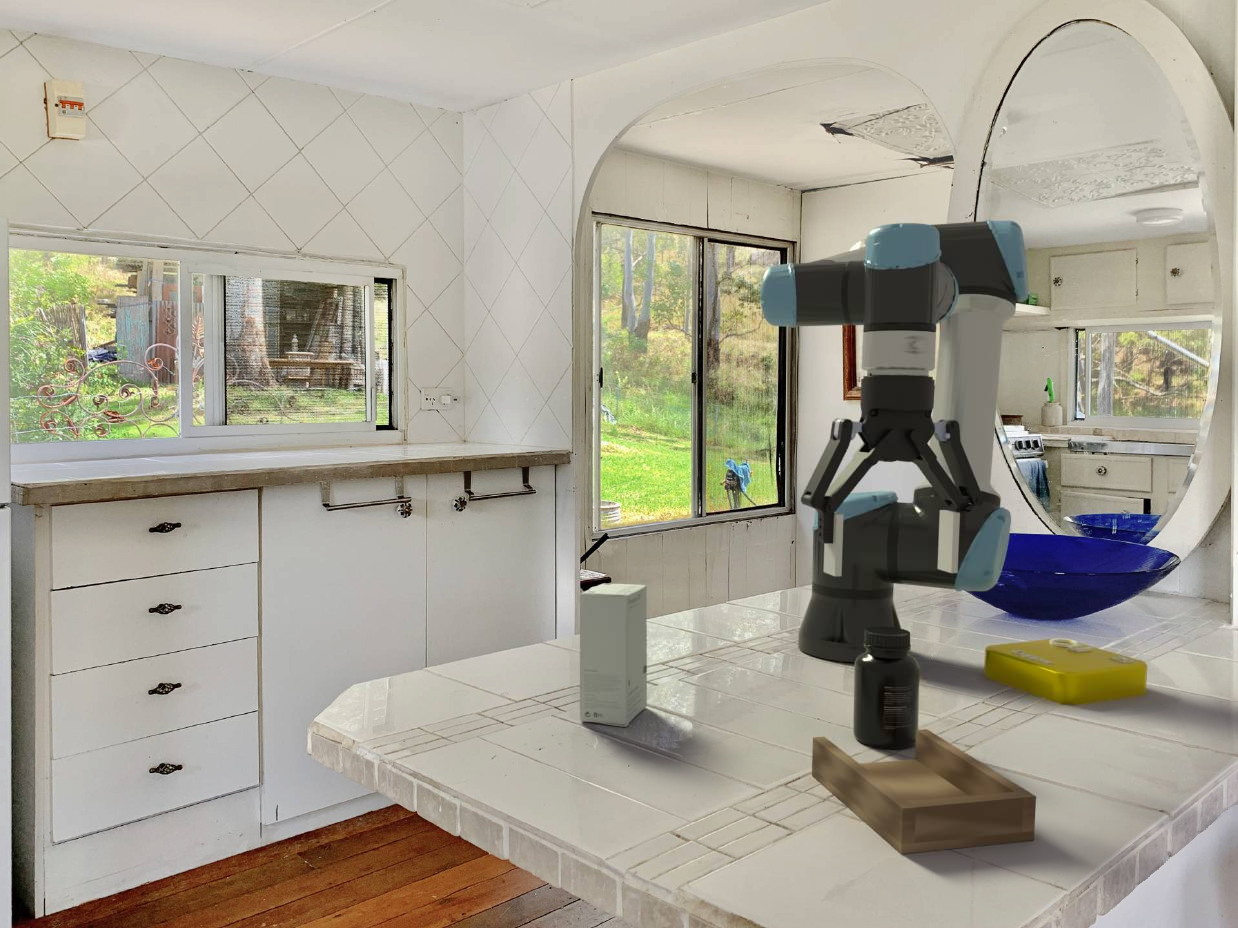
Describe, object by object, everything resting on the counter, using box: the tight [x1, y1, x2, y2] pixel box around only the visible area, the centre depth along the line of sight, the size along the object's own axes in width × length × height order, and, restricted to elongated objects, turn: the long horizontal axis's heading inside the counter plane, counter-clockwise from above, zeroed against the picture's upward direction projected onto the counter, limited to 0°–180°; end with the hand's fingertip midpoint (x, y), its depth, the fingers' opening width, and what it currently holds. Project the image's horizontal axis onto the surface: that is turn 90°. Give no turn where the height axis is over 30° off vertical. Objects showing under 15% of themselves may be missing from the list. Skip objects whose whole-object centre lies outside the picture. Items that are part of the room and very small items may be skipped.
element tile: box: [983, 637, 1148, 706], centre depth 131 cm, size 15×15×5 cm
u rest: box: [811, 728, 1037, 855], centre depth 91 cm, size 17×12×4 cm
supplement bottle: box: [852, 627, 920, 750], centre depth 109 cm, size 7×7×12 cm
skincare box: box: [579, 582, 648, 728], centre depth 116 cm, size 8×6×15 cm
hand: (890, 572), depth 108 cm, fingers open, 13 cm apart
